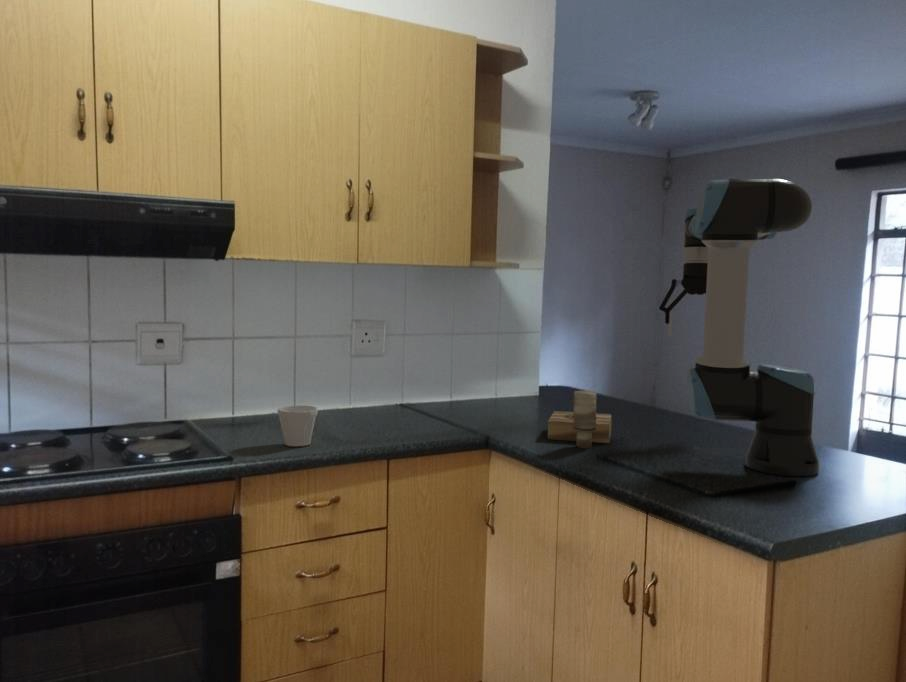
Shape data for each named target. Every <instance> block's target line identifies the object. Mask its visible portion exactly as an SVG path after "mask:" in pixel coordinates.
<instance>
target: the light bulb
mask: <svg viewBox="0 0 906 682" xmlns="http://www.w3.org/2000/svg"><path fill="white" fill-rule="evenodd" d="M597 396H598V395H597V391H593V390H575V391H574V393H573V412H574V422H573V429H574V430H577V441H576V447H577V448H580V449H591V448H592V446H593V445H592V443H593V442H592V431H595V430H596V413H597Z"/></svg>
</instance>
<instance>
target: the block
mask: <svg viewBox="0 0 906 682" xmlns="http://www.w3.org/2000/svg"><path fill="white" fill-rule="evenodd" d="M573 422H574V411H560V410H559V411H558V410H557V411H556V410H554V411H553V413H552V414H551V416H550V417H549V418H548V420H547V440H556V441H571V442H572V441H574V442H577V430H574V429H573ZM611 432H612V414H611V413H610V414H609V413H597V412H596V430H595V431H592V443H602V444H603V443H604V444H609V443H610V438H611V435H612V434H611Z"/></svg>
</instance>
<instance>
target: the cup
mask: <svg viewBox="0 0 906 682" xmlns="http://www.w3.org/2000/svg"><path fill="white" fill-rule="evenodd" d="M318 412H319V409H318V407H316V406H314V405H313V406H311V405H287V406H281V407H279V408H277V415H278V419H279V422H280V427H281V431H282V435H283V439H284V444H285V446H286V447H288V446H289V447H288V448H304V447H308V445H309V446H310V445H311V441H312V436H313V432H314V427H315V421H316V417H317V416H318Z"/></svg>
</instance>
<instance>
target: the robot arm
mask: <svg viewBox="0 0 906 682" xmlns="http://www.w3.org/2000/svg"><path fill="white" fill-rule="evenodd" d="M812 203H813V202H812V199H811V196H810V194H808V192H807V191H806V190H805V189H804V188H803V187H802V186H801V185H798V184H797V183H795V182H793V181H789V180H787V179H781V178H766V179H765V178H757V179H756V178H755V179H754V178H746V179H745V178H725V179H714V180H709V181H707V182H706V183H705V184H704V185H703V187H702V190H701V191H700V195H699V198H698V202H697V205H696V206H697V207H693V208H688V209H687V210H686V211H685V218H684V244H683V245H684V248H683V261H684V262H685V263H684V264H683V269H682V270H683V272H682V279H676V278H673V279H672V280H671V283H670V288H669V289H668V291H667V293H666V294H665V297H664V298H663V300H662V302H661V304H660V305H659V307H658V309H659V310H660V311H661V312H664V314H665V315H664V316H665V317H664V323H665V324H668V336H672V335H673V334H672V332H673V312H671V311H672V310H673V309H674V308H675V307H676V305H677V304H679V302H680V301H681V300H682V299H683V298H684V297H685V296H686V295H687V294H688V295H691V296H692V295H700V296H702V295H704V294H705V311H704V328H703V331H704V332H703V346H702V347H703V349H702V350H703V351H702V354H701V355H700V356H699V357H698V358H696V359H695V366H694V367H692V368H689V369H688V370H687V387H688V388H687V391H688V395H689V398H688V399H689V402H690V408H691V411H692V413H693V415H694V416H695V417H696V418H698V419H702V420H712V421H714V422H716V421H734V422H737V421H738V422H755V431H754V435H753V437H752V439H751V441H750V444H749V446H748V449H747V452H746V455H745V466H746V467H748V468H749V469H751V470H753V471H757V472H760V473H764V474H769V475H774V476H775V475H776V476H785V477H811V476H815V475H818V473H819V470H820V468H819V467H820V463H819V458H818V455H817V452H816V447H815V446H814V441H813V438H812V437H813V436H812V433H813V416H814V401H815V399H814V397H815V378H814V376H813V375H812V373H810V372H808V371H806V370H801V369H797V368H791V367H785V366H782V365H781V366H780V365H774V364H765V363H764V364H763V363H760V364H758V366H757V367H756V369H757V370H750V368H751V363H750V361H748V360H747V358H745V356H744V350H745V349H744V346H745V331H746V316H747V315H746V313H747V297H748V282H749V281H748V280H749V279H748V278H749V277H748V276H749V275H748V274H749V263H750V262H749V261H750V250H751V248H753V246H754V245H756V243H758V241H764V240H771V239H772V240H773V239H774V238H775V237H776V235H777V233H782V232H790V231H793V230H796V229H798V228H800V227H801V226H803V225H805V223H806V222H807V221H808V220H809V218H810V216H811V213H812V209H813V204H812ZM679 285H681V286H682V288H683V290H682V291H681V292H680V293H679V295H678V296H676V298H675V299H674V300H673V301H672V302H671V303H669V305H668V306H667V307H666V305H667V304H668V302H669V300H670V298H671V296H673V295H672V294H673V293H674V291H675V289H676V288H678V287H679Z"/></svg>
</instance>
